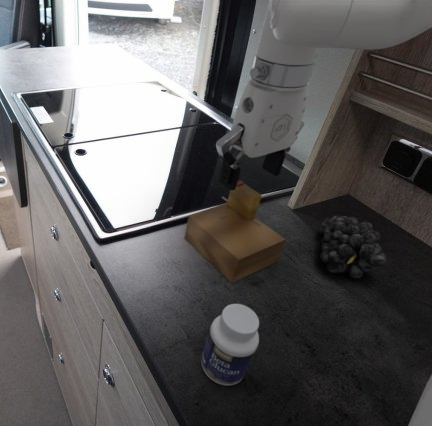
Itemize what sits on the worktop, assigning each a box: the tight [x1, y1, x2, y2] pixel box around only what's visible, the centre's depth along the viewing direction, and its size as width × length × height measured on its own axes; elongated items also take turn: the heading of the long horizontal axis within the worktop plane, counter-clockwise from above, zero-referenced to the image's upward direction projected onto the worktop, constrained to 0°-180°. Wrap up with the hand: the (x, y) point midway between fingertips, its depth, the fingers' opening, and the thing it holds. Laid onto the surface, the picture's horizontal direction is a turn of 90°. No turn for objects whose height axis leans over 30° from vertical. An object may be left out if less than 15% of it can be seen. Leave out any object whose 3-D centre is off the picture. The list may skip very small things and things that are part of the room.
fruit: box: [319, 215, 387, 279], centre depth 61 cm, size 9×8×15 cm
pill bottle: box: [200, 303, 260, 387], centre depth 44 cm, size 5×5×10 cm
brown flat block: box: [183, 196, 286, 284], centre depth 64 cm, size 14×14×5 cm
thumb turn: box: [226, 179, 263, 220], centre depth 63 cm, size 5×2×5 cm, turn 29°
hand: (249, 178), depth 61 cm, fingers open, 9 cm apart
